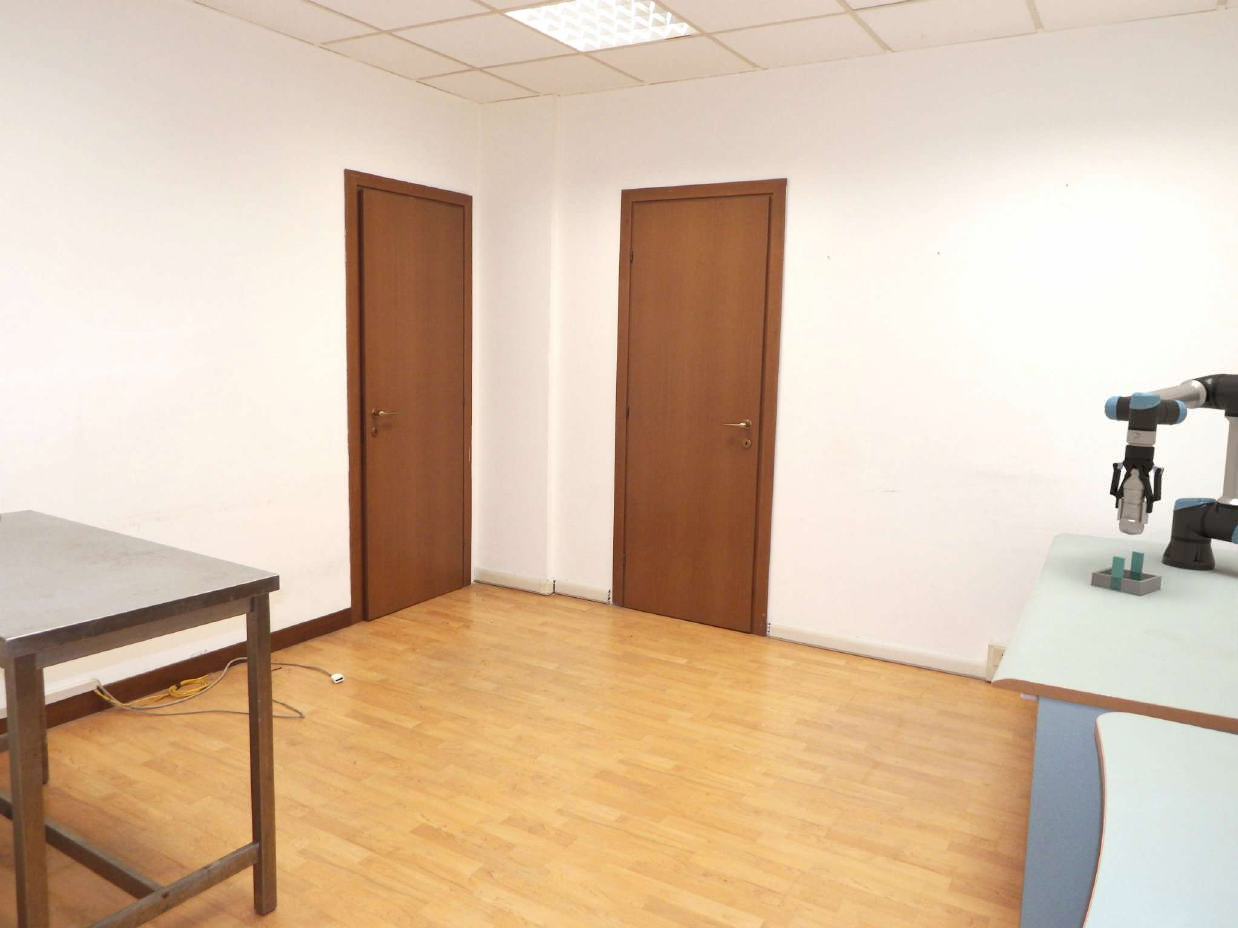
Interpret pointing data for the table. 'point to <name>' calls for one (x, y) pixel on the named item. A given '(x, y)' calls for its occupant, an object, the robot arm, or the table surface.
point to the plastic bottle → (1132, 504)
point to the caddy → (1127, 577)
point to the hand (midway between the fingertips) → (1132, 521)
